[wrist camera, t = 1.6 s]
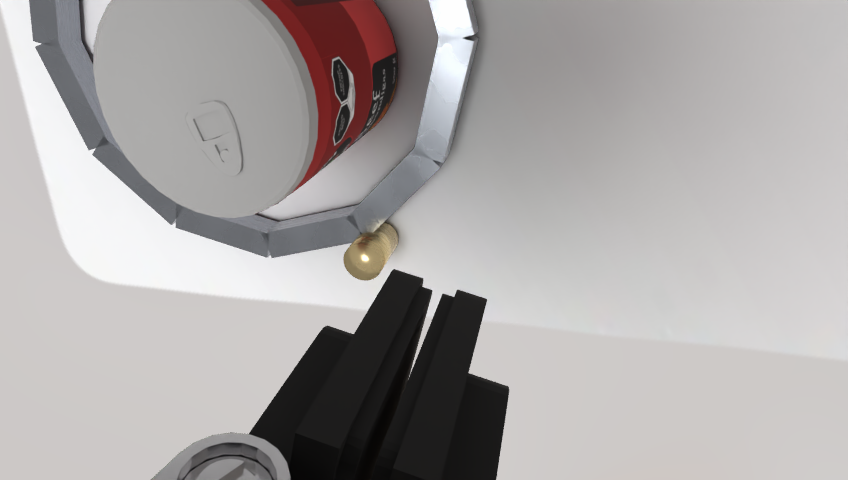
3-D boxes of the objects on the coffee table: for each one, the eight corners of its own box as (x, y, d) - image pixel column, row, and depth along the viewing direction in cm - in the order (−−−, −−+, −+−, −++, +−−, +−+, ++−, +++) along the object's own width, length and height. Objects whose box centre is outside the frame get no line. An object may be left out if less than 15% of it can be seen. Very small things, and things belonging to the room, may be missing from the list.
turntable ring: (29, -298, 24) (-38, -331, 21) (535, -183, 22) (530, -204, 19) (67, 177, 34) (25, 194, 32) (414, 289, 32) (400, 318, 29)
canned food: (321, 164, 30) (203, 255, 21) (224, 33, 28) (45, 66, 19) (436, 84, 27) (361, 147, 17) (335, -70, 25) (188, -94, 16)
